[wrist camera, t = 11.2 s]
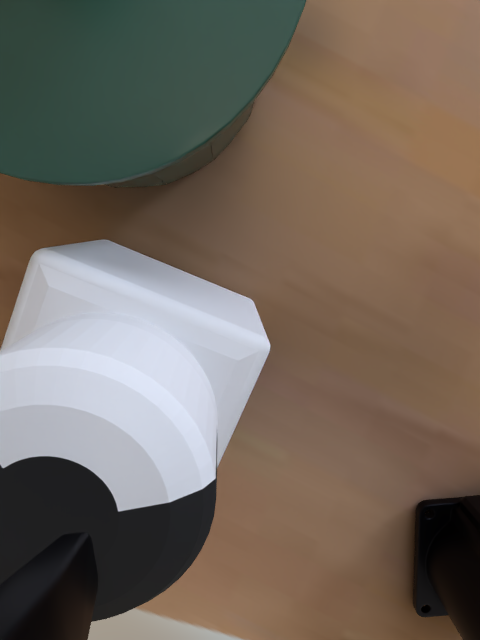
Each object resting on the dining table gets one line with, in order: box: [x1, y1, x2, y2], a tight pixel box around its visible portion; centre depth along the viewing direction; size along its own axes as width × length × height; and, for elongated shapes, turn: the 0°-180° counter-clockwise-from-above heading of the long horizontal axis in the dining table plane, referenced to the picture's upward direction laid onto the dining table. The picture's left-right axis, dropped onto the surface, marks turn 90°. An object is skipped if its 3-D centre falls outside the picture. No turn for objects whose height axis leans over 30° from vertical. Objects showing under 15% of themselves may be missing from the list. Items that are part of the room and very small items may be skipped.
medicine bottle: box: [0, 239, 271, 622], centre depth 14 cm, size 7×7×12 cm
